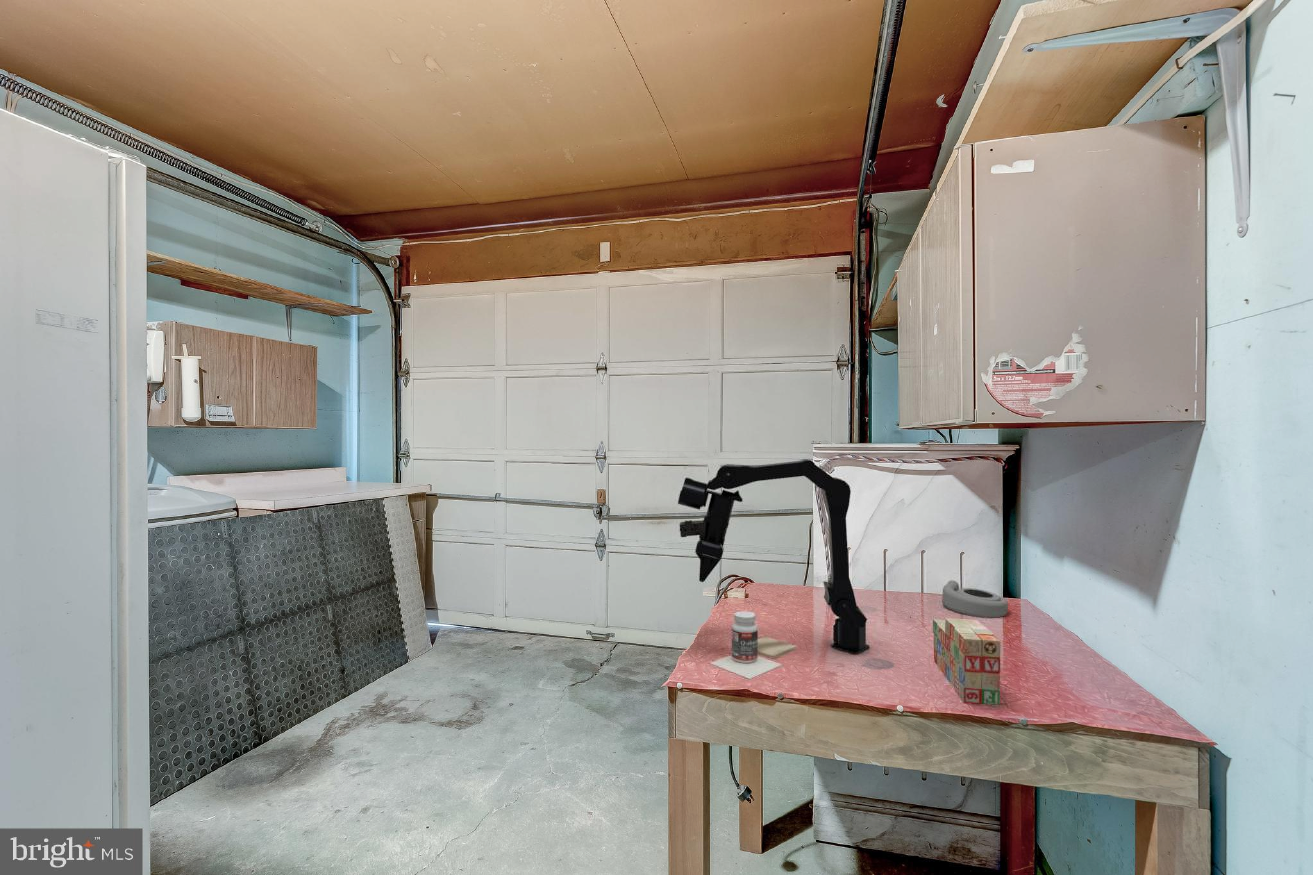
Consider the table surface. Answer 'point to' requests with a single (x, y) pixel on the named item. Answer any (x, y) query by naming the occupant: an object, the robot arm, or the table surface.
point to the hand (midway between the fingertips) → (702, 576)
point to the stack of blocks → (968, 659)
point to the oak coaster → (773, 647)
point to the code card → (746, 666)
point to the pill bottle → (744, 637)
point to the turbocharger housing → (973, 601)
